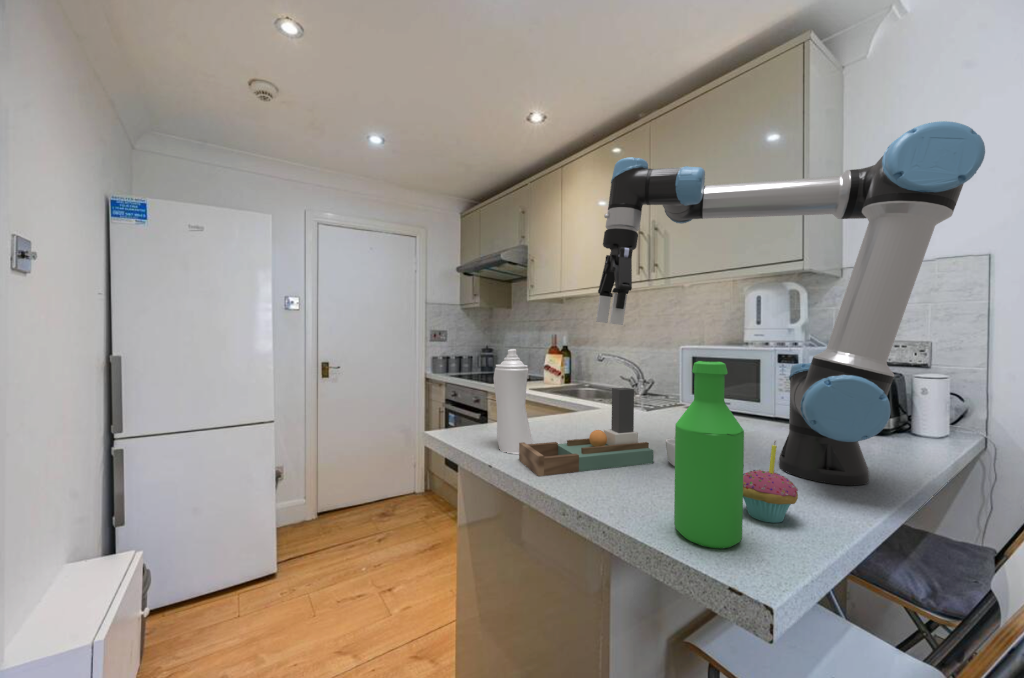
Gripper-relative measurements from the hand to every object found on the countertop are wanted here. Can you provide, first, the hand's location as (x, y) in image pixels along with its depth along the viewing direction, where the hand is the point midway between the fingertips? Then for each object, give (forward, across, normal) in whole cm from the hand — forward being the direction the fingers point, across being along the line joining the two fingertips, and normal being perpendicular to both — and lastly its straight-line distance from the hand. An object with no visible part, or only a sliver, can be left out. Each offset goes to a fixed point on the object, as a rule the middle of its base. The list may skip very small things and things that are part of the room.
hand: (608, 323), depth 95 cm
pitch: (+31, +2, +3) cm, 32 cm away
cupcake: (+28, +32, +22) cm, 47 cm away
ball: (+26, +3, +1) cm, 27 cm away
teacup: (+29, +7, +20) cm, 36 cm away
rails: (+28, +2, +3) cm, 28 cm away
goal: (+32, +7, -10) cm, 35 cm away
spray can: (+34, -7, -18) cm, 40 cm away
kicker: (+28, +1, +7) cm, 29 cm away
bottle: (+29, +38, +9) cm, 49 cm away
